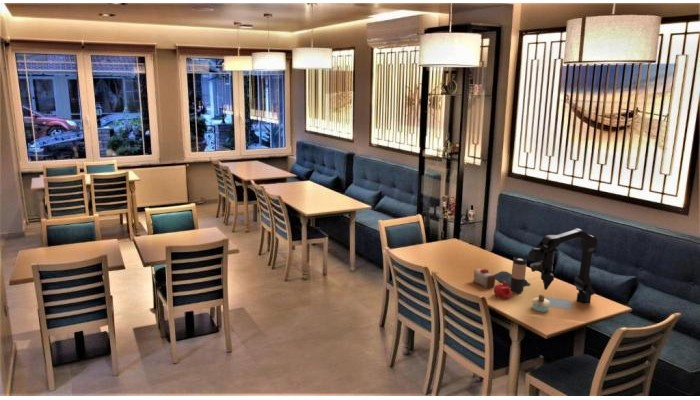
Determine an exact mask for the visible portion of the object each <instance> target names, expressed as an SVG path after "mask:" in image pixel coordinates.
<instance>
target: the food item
mask: <svg viewBox="0 0 700 400" xmlns="http://www.w3.org/2000/svg"><path fill="white" fill-rule="evenodd" d="M494 275H495V274H492V273H491V272H490V271H489V269H486V268H484V269H482V268H477V269H474V271H473V283H475V284H478V285H480V286H481V287H483V288H485V289H486V290H489V289H494V287H495V286H496V285H495V284H496V280H495V276H494Z"/></svg>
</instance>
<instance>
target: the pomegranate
mask: <svg viewBox="0 0 700 400" xmlns="http://www.w3.org/2000/svg"><path fill="white" fill-rule="evenodd" d="M505 284H506V283H505V281H503V284H502V283H501V282H499V281H498V283H497V284H496V285H495V286H494V288H493V293H494V295H495V297H497V298H499V299H503V300H506V299H509V298H510V297H511V296H512V294H513V292H512V291H511V288H510V287H509V285H505Z"/></svg>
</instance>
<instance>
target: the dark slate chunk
mask: <svg viewBox="0 0 700 400" xmlns="http://www.w3.org/2000/svg"><path fill="white" fill-rule="evenodd" d="M493 275H494V276H495V281H497V282H498V283H499V282H501V283H502V284H503V281H505V283H506V284H505V285H509V287H510V289H511V275H512V273H511V272H508V271H504V270H501V271H499V272H497V273H495V274H493ZM501 283H500V284H501ZM529 286H531V283H530V282H528V281H527V279H525V281H524V287H529Z"/></svg>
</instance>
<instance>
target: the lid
mask: <svg viewBox="0 0 700 400" xmlns="http://www.w3.org/2000/svg"><path fill="white" fill-rule="evenodd" d="M531 302H532V304H533V303H534V304H535V305H538V306H549V305H550V301H549V300H547V299H546V297H545V295H543V294H539V295H538V297H534V298H532V299H531Z"/></svg>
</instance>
